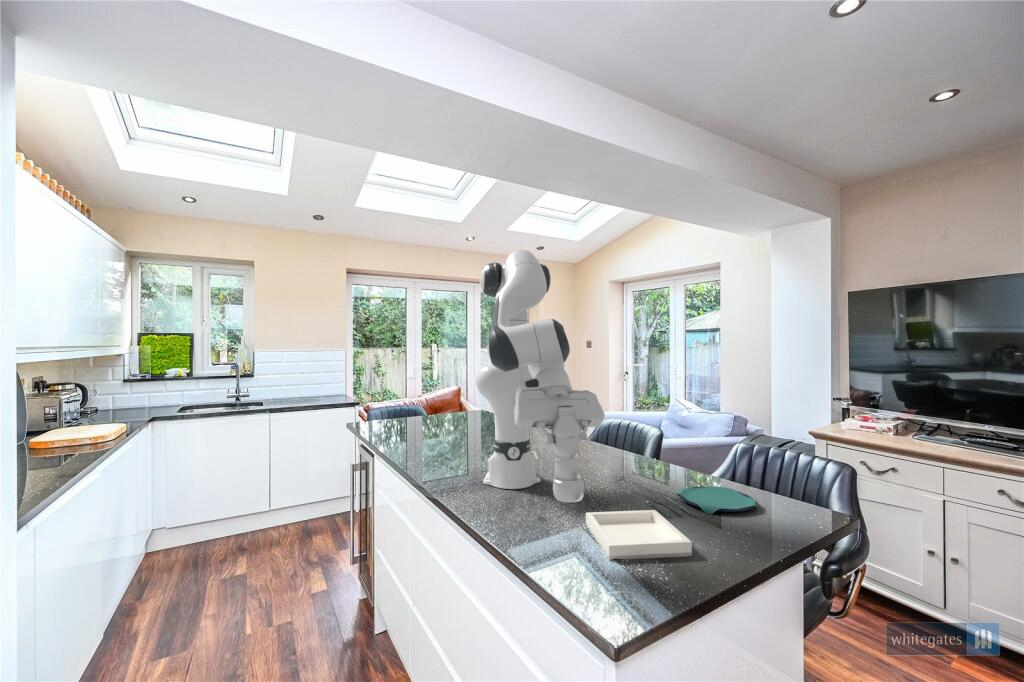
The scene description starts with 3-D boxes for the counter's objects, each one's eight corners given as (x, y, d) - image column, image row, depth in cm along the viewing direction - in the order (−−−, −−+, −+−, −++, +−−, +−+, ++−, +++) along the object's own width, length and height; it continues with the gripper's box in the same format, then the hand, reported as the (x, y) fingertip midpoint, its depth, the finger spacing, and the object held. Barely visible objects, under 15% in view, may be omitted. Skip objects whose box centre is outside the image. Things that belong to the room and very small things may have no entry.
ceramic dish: (585, 524, 107) (585, 512, 107) (655, 521, 109) (654, 509, 109) (609, 560, 89) (609, 545, 89) (691, 556, 91) (691, 541, 91)
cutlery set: (774, 514, 114) (773, 505, 114) (670, 523, 109) (669, 514, 109) (724, 490, 134) (724, 483, 134) (634, 498, 129) (634, 490, 129)
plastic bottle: (581, 507, 86) (577, 407, 88) (548, 504, 89) (545, 407, 90) (588, 498, 92) (584, 404, 94) (557, 495, 95) (554, 404, 96)
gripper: (590, 398, 105) (607, 448, 95) (508, 399, 100) (517, 451, 91) (598, 382, 101) (616, 432, 91) (513, 382, 96) (523, 435, 86)
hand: (566, 442), depth 91 cm, fingers closed on plastic bottle, 6 cm apart
